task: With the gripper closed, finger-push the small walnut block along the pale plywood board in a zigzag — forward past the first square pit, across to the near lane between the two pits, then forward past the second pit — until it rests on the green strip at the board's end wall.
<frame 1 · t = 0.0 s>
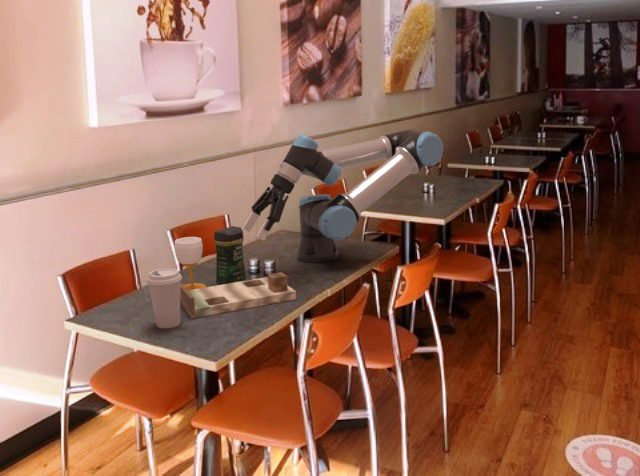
hand: (252, 234, 223), 15 cm above the table, tool tilted 35°, fingers open, 13 cm apart
cup: (192, 288, 219), on the table
coffee cup: (168, 324, 189), on the table
walnut block: (278, 289, 207), point 2 cm above the table, touching trap board
trap board: (236, 299, 207), on the table
coffee jar: (231, 283, 224), on the table
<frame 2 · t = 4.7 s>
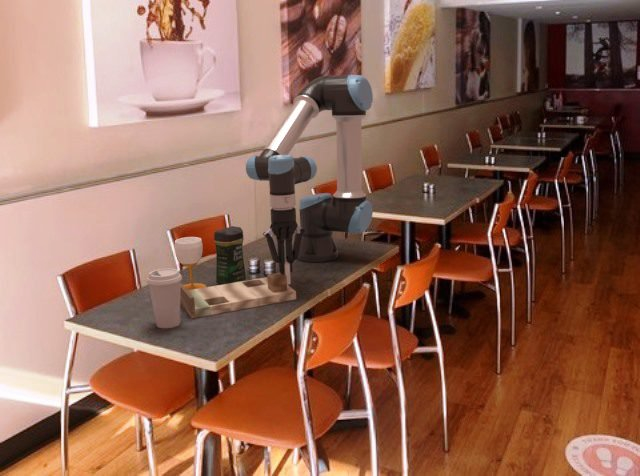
hand: (286, 283, 208), 4 cm above the table, tool pointing down, fingers closed
walnut block: (277, 289, 207), point 3 cm above the table, touching gripper
everything else where it was.
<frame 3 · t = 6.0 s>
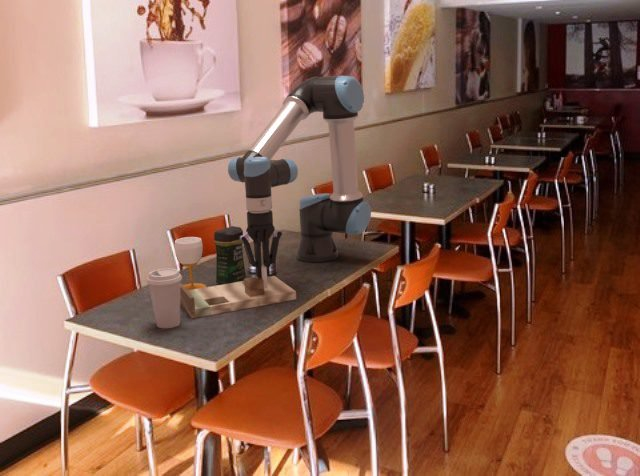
hand: (263, 287, 205), 4 cm above the table, tool pointing down, fingers closed
walnut block: (254, 293, 204), point 3 cm above the table
everything else where it was.
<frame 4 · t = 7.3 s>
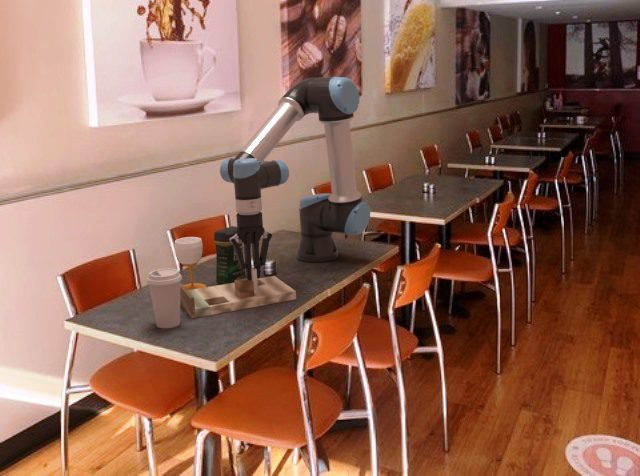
hand: (253, 289, 204), 4 cm above the table, tool pointing down, fingers closed
walnut block: (244, 295, 203), point 2 cm above the table, touching gripper, trap board
everything else where it was.
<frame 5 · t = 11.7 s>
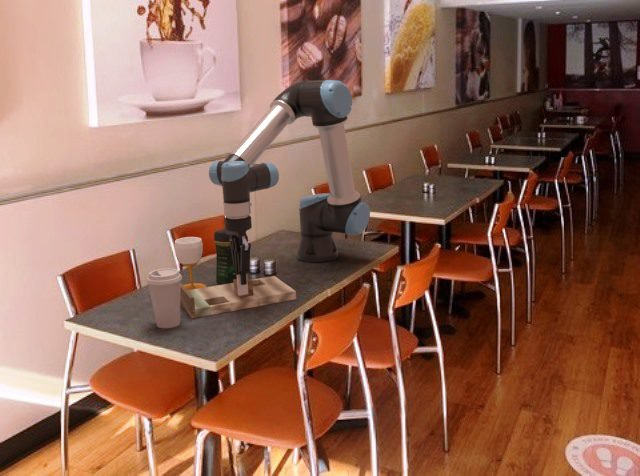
hand: (243, 294, 200), 4 cm above the table, tool pointing down, fingers closed
walnut block: (243, 294, 204), point 3 cm above the table, touching gripper
everything else where it was.
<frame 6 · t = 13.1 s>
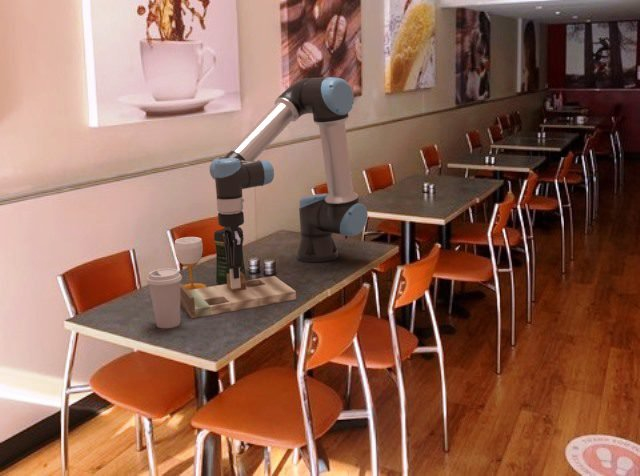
hand: (235, 287, 206), 4 cm above the table, tool pointing down, fingers closed
walnut block: (236, 288, 210), point 3 cm above the table, touching gripper
everything else where it was.
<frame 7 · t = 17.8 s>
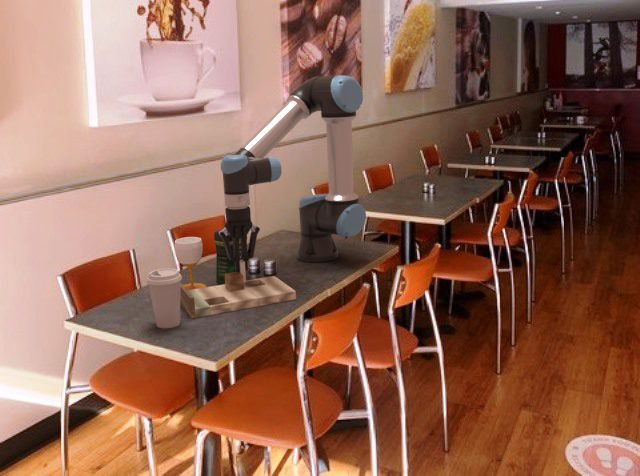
hand: (242, 281, 212), 4 cm above the table, tool pointing down, fingers closed
walnut block: (234, 288, 210), point 2 cm above the table, touching gripper, trap board
everything else where it was.
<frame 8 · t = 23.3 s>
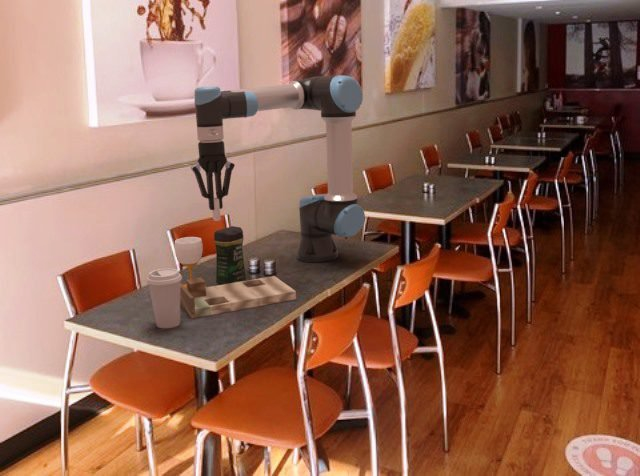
hand: (216, 219, 204), 24 cm above the table, tool pointing down, fingers closed
walnut block: (196, 294, 205), point 2 cm above the table, touching trap board
everything else where it was.
at the end: walnut block inside the target area on the trap board (3.3 cm from its centre), point 2.5 cm above the trap board's base; walnut block tilted 0° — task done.
